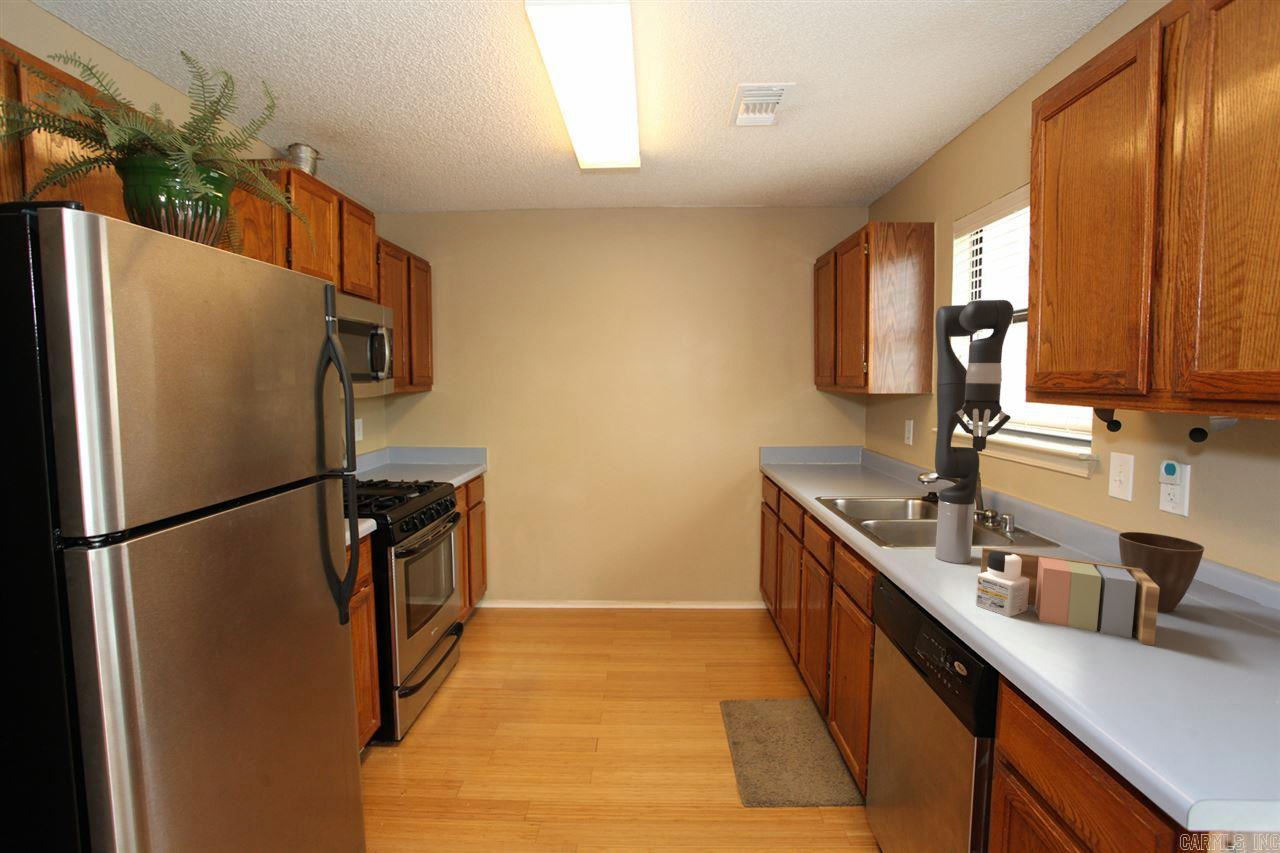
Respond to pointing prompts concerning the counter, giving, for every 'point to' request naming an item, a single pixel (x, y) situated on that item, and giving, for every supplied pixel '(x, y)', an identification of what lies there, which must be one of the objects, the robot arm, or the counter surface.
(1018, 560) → the container
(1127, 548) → the plant pot
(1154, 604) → the wooden book rack
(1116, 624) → the book
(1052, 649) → the counter surface
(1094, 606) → the book
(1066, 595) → the book
